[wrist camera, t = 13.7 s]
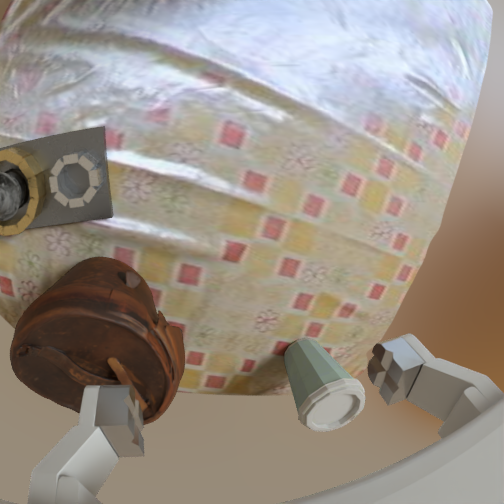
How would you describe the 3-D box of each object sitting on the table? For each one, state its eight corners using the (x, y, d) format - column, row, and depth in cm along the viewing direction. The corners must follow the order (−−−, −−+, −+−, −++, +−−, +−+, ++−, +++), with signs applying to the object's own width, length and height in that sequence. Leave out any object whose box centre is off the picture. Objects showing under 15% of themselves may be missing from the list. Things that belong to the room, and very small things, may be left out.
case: (181, 348, 47) (191, 444, 31) (60, 344, 42) (31, 432, 26) (182, 240, 40) (189, 323, 24) (39, 237, 35) (-25, 311, 19)
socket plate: (-21, 154, 28) (-34, 158, 24) (104, 126, 32) (97, 127, 28) (-7, 232, 32) (-18, 241, 29) (113, 215, 36) (108, 224, 33)
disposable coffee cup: (260, 360, 52) (287, 430, 38) (302, 316, 50) (343, 382, 36) (301, 377, 56) (331, 439, 43) (341, 338, 54) (381, 397, 41)
